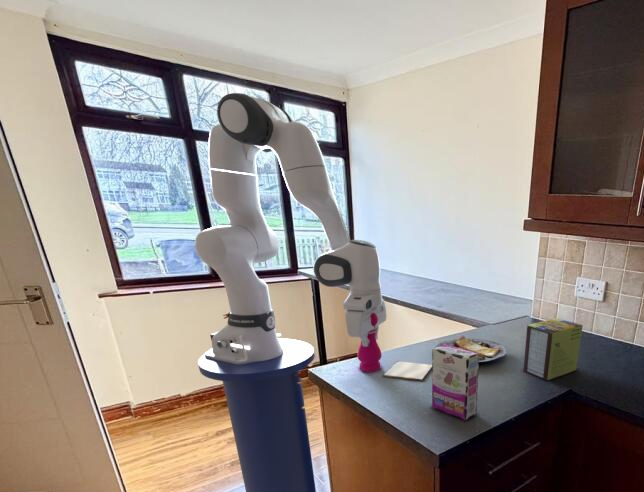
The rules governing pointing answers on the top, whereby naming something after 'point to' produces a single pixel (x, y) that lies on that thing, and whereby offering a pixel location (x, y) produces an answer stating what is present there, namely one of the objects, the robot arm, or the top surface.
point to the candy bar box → (455, 381)
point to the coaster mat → (408, 370)
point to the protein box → (552, 348)
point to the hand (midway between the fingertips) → (370, 342)
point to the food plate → (478, 347)
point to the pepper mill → (370, 350)
